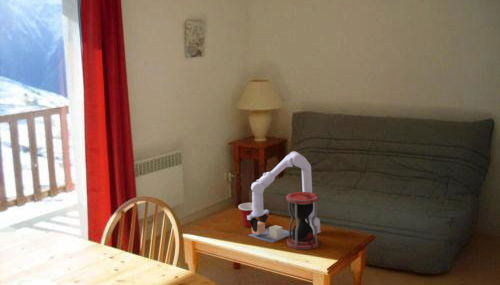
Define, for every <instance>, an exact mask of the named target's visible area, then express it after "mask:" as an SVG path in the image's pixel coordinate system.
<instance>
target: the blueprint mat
mask: <svg viewBox="0 0 500 285" xmlns="http://www.w3.org/2000/svg"><path fill="white" fill-rule="evenodd" d="M247 236H249V237H251V238H255V239H258V240H262V241H265V242H269V243H274V242H277V241H279V240H282V239H285V238H288V237H289V230H286V229H283V236H282V237H279V238H277V239H276V238H273V237H269V227H267V228H266V227H265V232H264V233H262V234H255V233H250V234H248V235H247ZM291 236H292V231H291Z"/></svg>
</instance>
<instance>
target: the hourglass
mask: <svg viewBox="0 0 500 285" xmlns="http://www.w3.org/2000/svg"><path fill="white" fill-rule="evenodd" d="M285 197H286V201H287V202H288V212H289V215H290V216H291V219H290V222H289V224H288V231H289V236H288V237H287V239H286V245H287V246H288V247H290V248H291V249H296V250H312V249H315V248H317V247H318V246H319V245H320V240H319V239H318V233H317V228H316V226H315V224H314V219H315V218H316V217H317V216H318V213H317V212H318V204H317V203H318V201H319V199H320V198H319V194H317V193H314V192H312V193H311V192H303V191H296V192H291V193H290V192H289V193H288V194H286V196H285ZM313 203H314V206H315V215H314V217H313V218H312V221H311V223H312V226H313V227H314V229H315V235H313V229H312V227H311V226H310V221H309V215H310V214H311V213H312V211H313ZM305 219H306V220H307V222H308V223H307V222H306V221H305ZM294 221H296V223H295V225H294V227H293V228H292V224H293V223H294ZM291 232H292V235H291Z"/></svg>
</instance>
